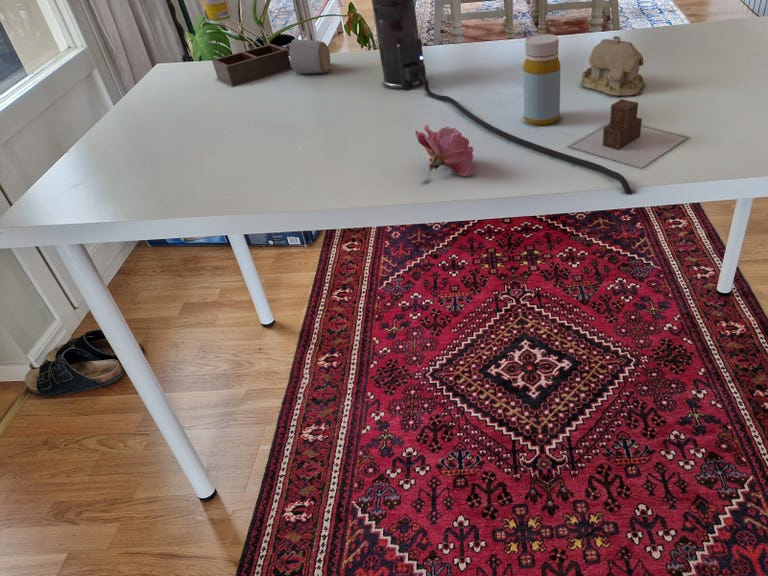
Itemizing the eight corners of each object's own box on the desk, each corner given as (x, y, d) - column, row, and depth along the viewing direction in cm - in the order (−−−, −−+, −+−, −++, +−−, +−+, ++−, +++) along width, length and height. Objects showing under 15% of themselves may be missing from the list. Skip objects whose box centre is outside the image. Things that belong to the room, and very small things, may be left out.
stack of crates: (641, 168, 109) (645, 128, 105) (570, 147, 117) (571, 109, 113) (686, 138, 117) (692, 100, 112) (617, 120, 125) (620, 84, 120)
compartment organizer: (291, 68, 164) (287, 49, 161) (232, 86, 156) (226, 66, 153) (275, 62, 169) (271, 43, 166) (217, 79, 161) (211, 60, 158)
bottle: (536, 129, 124) (535, 46, 114) (518, 118, 129) (516, 38, 119) (566, 120, 127) (568, 39, 117) (547, 110, 131) (547, 31, 121)
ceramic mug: (325, 76, 157) (318, 43, 152) (293, 77, 158) (285, 44, 153) (337, 63, 165) (331, 31, 160) (307, 64, 166) (299, 32, 161)
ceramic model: (653, 83, 139) (659, 33, 132) (630, 100, 133) (635, 48, 126) (595, 74, 146) (598, 26, 139) (571, 89, 139) (572, 40, 133)
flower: (452, 172, 120) (480, 126, 115) (459, 200, 113) (489, 153, 108) (397, 145, 115) (424, 96, 109) (402, 173, 108) (431, 123, 102)
